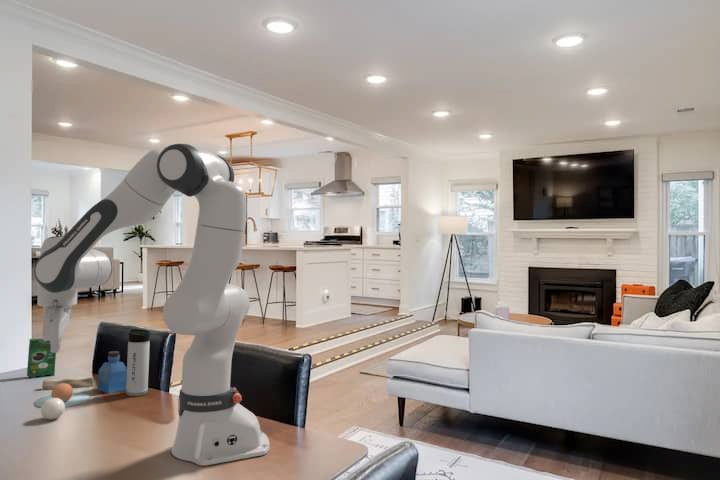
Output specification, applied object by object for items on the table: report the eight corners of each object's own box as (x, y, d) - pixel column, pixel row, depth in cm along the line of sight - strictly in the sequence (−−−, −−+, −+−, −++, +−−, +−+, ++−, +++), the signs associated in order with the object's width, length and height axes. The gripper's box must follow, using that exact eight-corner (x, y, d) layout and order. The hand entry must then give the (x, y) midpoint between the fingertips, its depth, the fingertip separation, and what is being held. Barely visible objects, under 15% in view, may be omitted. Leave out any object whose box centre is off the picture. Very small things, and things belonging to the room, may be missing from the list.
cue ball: (65, 402, 132) (66, 420, 133) (63, 392, 136) (64, 409, 137) (41, 407, 129) (42, 426, 130) (39, 396, 133) (40, 414, 134)
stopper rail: (92, 384, 164) (93, 377, 164) (92, 386, 163) (92, 378, 163) (43, 388, 158) (43, 380, 158) (42, 389, 157) (42, 381, 157)
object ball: (73, 383, 146) (72, 403, 145) (73, 381, 150) (72, 399, 150) (51, 385, 143) (50, 405, 142) (52, 382, 147) (50, 402, 147)
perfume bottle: (127, 389, 161) (128, 352, 161) (108, 393, 156) (110, 355, 156) (115, 385, 165) (117, 349, 165) (97, 389, 160) (99, 352, 160)
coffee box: (54, 373, 175) (55, 336, 175) (55, 375, 173) (57, 337, 173) (26, 376, 170) (28, 338, 170) (27, 378, 168) (29, 340, 168)
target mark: (93, 392, 157) (93, 391, 157) (84, 406, 143) (84, 405, 143) (42, 394, 152) (42, 393, 152) (28, 409, 139) (28, 408, 139)
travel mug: (140, 389, 162) (142, 327, 162) (151, 393, 158) (154, 330, 158) (121, 393, 157) (124, 329, 157) (132, 397, 153) (135, 332, 153)
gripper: (67, 303, 120) (64, 360, 120) (75, 293, 139) (73, 343, 139) (36, 303, 118) (33, 361, 118) (49, 293, 136) (47, 344, 136)
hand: (55, 351), depth 129 cm, fingers closed
